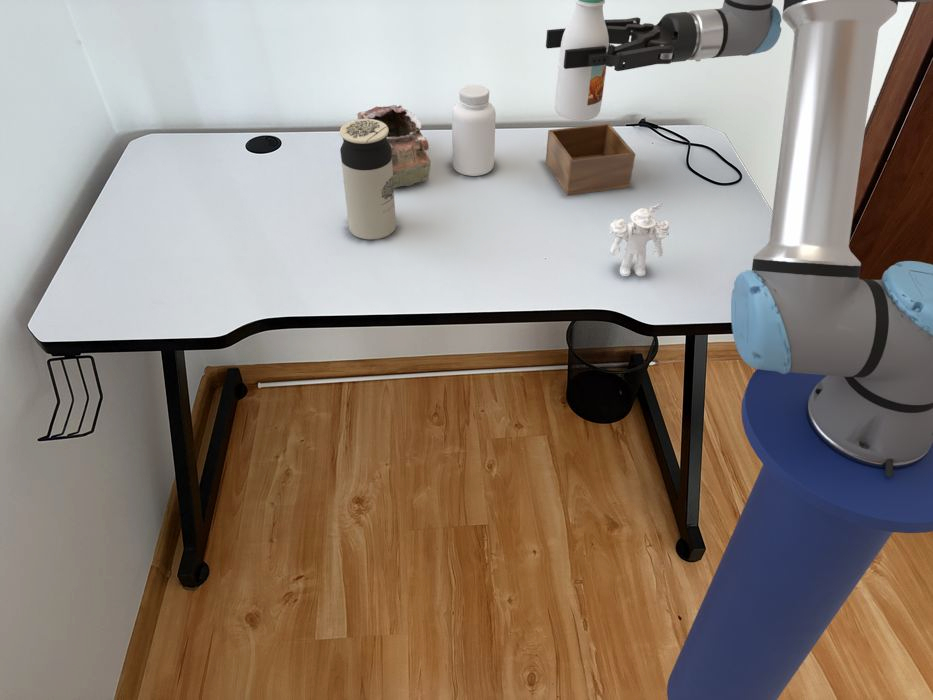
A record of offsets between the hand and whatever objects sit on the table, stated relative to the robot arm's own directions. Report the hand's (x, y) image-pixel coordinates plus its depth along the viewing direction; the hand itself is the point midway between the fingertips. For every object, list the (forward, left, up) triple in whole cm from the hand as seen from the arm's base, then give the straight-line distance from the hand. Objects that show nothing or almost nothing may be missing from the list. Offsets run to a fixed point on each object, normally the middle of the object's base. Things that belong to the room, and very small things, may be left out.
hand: (556, 49), depth 120 cm
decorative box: (+17, +26, -26) cm, 40 cm away
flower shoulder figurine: (-25, -6, -26) cm, 37 cm away
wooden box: (+5, -10, -26) cm, 28 cm away
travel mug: (-3, +32, -26) cm, 42 cm away
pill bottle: (+13, +10, -26) cm, 31 cm away
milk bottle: (0, -5, -11) cm, 12 cm away
